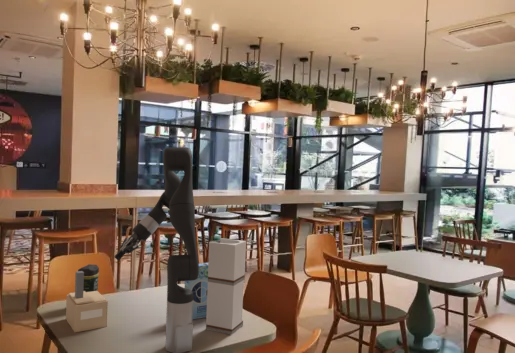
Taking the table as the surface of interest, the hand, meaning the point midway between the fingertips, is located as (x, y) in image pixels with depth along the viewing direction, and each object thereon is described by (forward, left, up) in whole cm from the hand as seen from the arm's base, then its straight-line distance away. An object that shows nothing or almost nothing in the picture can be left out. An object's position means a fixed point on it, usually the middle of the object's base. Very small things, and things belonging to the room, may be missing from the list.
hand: (116, 258), depth 174 cm
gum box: (-16, -35, -25) cm, 46 cm away
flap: (0, +14, -15) cm, 20 cm away
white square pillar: (-32, -35, -25) cm, 53 cm away
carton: (0, +11, -25) cm, 27 cm away
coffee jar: (+19, +6, -25) cm, 32 cm away
